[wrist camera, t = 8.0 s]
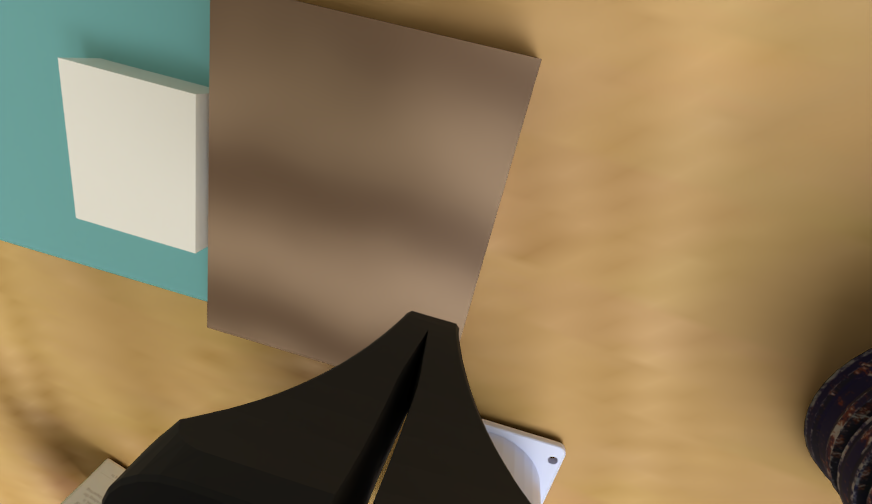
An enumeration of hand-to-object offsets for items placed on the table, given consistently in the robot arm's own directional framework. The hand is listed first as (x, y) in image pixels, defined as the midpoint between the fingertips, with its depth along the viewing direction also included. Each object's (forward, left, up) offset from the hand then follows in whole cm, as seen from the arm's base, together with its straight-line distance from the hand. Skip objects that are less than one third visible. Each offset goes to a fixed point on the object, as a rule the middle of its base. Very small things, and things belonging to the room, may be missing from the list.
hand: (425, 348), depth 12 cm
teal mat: (0, +18, -9) cm, 20 cm away
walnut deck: (0, +5, -9) cm, 11 cm away
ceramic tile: (0, +15, -9) cm, 17 cm away
